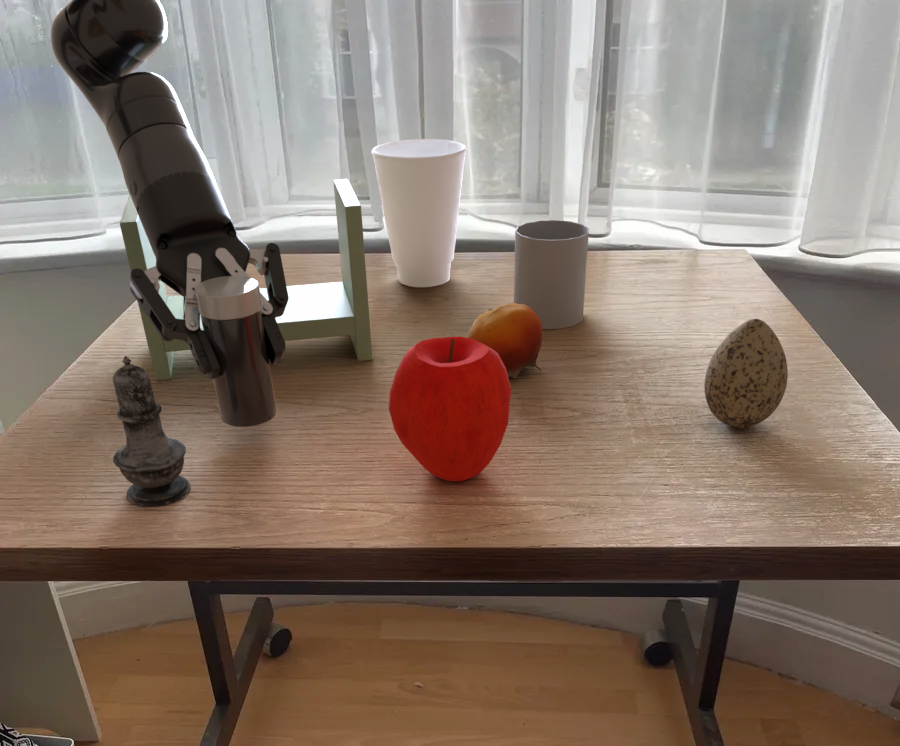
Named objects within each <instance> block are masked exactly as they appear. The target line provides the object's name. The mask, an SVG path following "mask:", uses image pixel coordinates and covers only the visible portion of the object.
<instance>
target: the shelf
mask: <svg viewBox="0 0 900 746" xmlns="http://www.w3.org/2000/svg"><path fill="white" fill-rule="evenodd" d="M332 182H333V191H334V192H333V193H334V202H335V203H334V204H335V213H336V214H335V215H336V224H337V225H336V226H337V236H338V246H339V247H338V248H339V259H340V267H341V268H340V269H341V279H342V280H341V281H333V282H320V283H319V282H318V283H310V284H296V285H286V287H287V292H288V297H289V300H288V302H287V305H286V308H285V310H284V313H283V315H282V316H280V317H276V318H275V319H276V322H277V324H278V327H279V329H280V331H281V334H282V336H283V339H284V341H285V342H288V341H300V340H311V339H320V338H333V337H342V336H343V337H344V336H350V339H351V342H352V345H353V348H354V349H353V350H354V352H355V354H356V359H357V361H358V362H363V361H365V362H366V361H373V360H374V358H373V346H372V332H371V317H370V305H369V294H368V291H369V290H368V279H367V278H368V277H367V267H366V254H365V253H366V252H365V240H364V239H365V238H364V227H363V214H362V213H363V212H362V205H361V203H360V201H359V199H358V197H357V195H356V192H355V191H354V189H353V186H352V185H351V183H350V181H349V179H348V178H340V179H333V181H332ZM119 227H120V232H121V235H122V240H123V244H124V248H125V253H126V257H127V262H128V266H129V270H130V272H131V271H132V270H133V269H136V268H139V269H141V270H143V271H145V270H147V269H150V268H152V267H154V266H156V257H155V255H154V252H153V250H152V248H151V245H150V243H149V240H148V238H147V235H146V233H145V230H144V228H143V225H142V223H141V220H140V218H139V216H138V213H137V211H136V208H135V206H134V203H133V201H132V199H131V196H130V194H129V195H128V198H127V200H126V204H125V206H124V209H123V212H122V215H121V218H120V222H119ZM159 284H160V289H159V295H160V296H161V297H162V299H163V300H164V302H165V303H166V305H167V306H168V308H169V309H170V311H171V312H172V314H173V315H174V317H175V318H176V319H183V296H182V295H180V294H178V295H167V291H166V286H165V285H166V284H165V283H163V282H162V281H161V280H160V281H159ZM259 290H260V293H261V294H262V295H263V296H264V297H265V298H266V300H267V301H268V300H269V298H268V293H267V287H259ZM137 304H138V309H139V313H140V317H141V322H142V326H143V327H142V328H143V331H144V334H145V339H146V344H147V347H148V353H149V357H150V360H151V365H152V370H153V374H154V378H155V381H156V382H158V381H167V380H168V381H169V380H172V377H173V376H172V375H173V366H174V358H175V352H182V351H191V350H190V347H189V345H188V344H187V343H186V342H185V341H183V340H180V339H174V340H172V341H165V340H164V339H163V338H162V337H161V336H160V334H159V333H158V331H157V330H156V328H155V327H154V325H153V324H152V322H151V321H150V319H149V318H148V316H147V315H146V313H145V312H144V310H143V309H142V307H141V306H140V304H139V303H138V302H137ZM200 328H201V330H202V331H203V325H202V320H201V315H200Z"/></svg>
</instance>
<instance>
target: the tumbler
mask: <svg viewBox="0 0 900 746" xmlns="http://www.w3.org/2000/svg"><path fill="white" fill-rule="evenodd" d="M249 277H250V276H249ZM249 277H244V276H224V277H217V278H212V279H209V280H206V281H203V282H201V283H199V284H198V285H197V286H196V287H195V295H196V300H197V305H198V310H199V313H200V315H201V320H202V325H203V330H205V332H206V334H207V336H208V339H209V341H210V343H211V346H212V348H213V351H214V353H215V356H216V358H217V361H218V363H219V366H220V374H219V377H218V378H215V379H212V382H213V387H214V392H215V397H216V401H217V406H218V413H219V417H220V420H221V422H223V423H224V424H225V425H228V426H230V427H237V428H249V427H256V426H261V425H263V424H267V423H268V422H270V421H271V420H273V419H275V417H276V416H277V413H278V411H277V404H276V396H275V389H274V384H273V377H272V371H271V362H270V360H269V357H268V350H267V344H266V337H265V330H264V324H263V317H262V311H261V307H262V303H261V296H260V290H259V289H260V284H259V281H258V280H256V279H255V278H252V277H250V278H249Z"/></svg>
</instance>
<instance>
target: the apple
mask: <svg viewBox="0 0 900 746" xmlns="http://www.w3.org/2000/svg"><path fill="white" fill-rule="evenodd" d="M511 397H512V385H511V383H510V377H508V374H507V370H506V367H505V365H504V364H503V362H502V360H501V358H500V356H499V355H498V353H497V352H495V351H494V350H493V349H491V348H489V347H488V346H486V345H484V344H482V343H480V342H478V341H476V340H474V339H471V338H467V337H466V336H460V335H459V336H458V335H457V336H442V337H441V336H440V337H432V338H428V339H423V340H420V341H419V342H417V343H416V344H415V345H413V346H412V347H410V348H409V349H408V350H407V351H406V353H404V355H403V356H402V359H401V361H400V363H399V364H398V367H397V369H396V371H395V374H394V377H393V380H392V383H391V387H390V389H389V394H388V412H389V415H390V419H391V422H392V426H393V430H394V432H395V434H396V435H397V437H398V439H399V441H400V443H401V444H402V445H403V446H404V447H405V449H406V450H407V451H408V452H409V453H410V454H411V455H412V456H413V458H415V460H416V461H417V462H418V463H419V465H420V466H421V467H423V468H424V470H425V471H427V472H428V473H430V474H431V475H432V476H435V477H437V478H439V479H442V480H445V481H447V482H462V481H463V482H464V481H466V480H470V479H472V478H475V477H476V476H478V475H480V474H481V473H482V472H483V471H484V470H485V469H486V468H487V466H488V465H489V464H490V463H491V461H492V460H493V458H494V457H495V454H497V451H498V450H499V448H500V447H501V445H502V442H503V439H504V436H505V433H506V431H507V429H508V425H509V420H510V418H509V417H510V408H511Z"/></svg>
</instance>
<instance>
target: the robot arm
mask: <svg viewBox="0 0 900 746" xmlns="http://www.w3.org/2000/svg"><path fill="white" fill-rule="evenodd" d="M168 29H169V28H168V21H167V16H166V13H165V10H164V7H163V5H162V4H161V2H160V0H71V1H69V3H68V4H67V5H65V7H64V8H62V10H61V11H59V13H58V14H56V16H55V18H54V19H53V22H52V24H51V29H50V43H51V48H52V51H53V54H54V57H55V59H56V61H57V63H58V64H59V65H60V67H61V68H62V70H63V71H64V72H65V74H66V75H67V76H68V77H69V78H70V79H71V81H72V82H73V83H74V84H75V86H76V87H77V88H78V89H79V91H80V92H81V93H82V95H83V96H84V98H85V99H86V100H87V101H88V103H89V104H90V106H91V107H92V109H93V110H94V111H95V113H96V115H97V116H98V117H99V119H100V121H101V122H102V123H103V125H104V127H105V130H106V132H107V135H108V137H109V139H110V141H111V144H112V146H113V149H114V152H115V153H116V156H117V158H118V162H119V164H120V167H121V171H122V174H123V179H124V182H125V186H126V189H127V191H128V194H129V195H130V196H131V199H132V201H133V203H134V206H135V208H136V211H137V213H138V216H139V218H140V220H141V223H142V225H143V228H144V230H145V233H146V235H147V238H148V240H149V243H150V245H151V248H152V250H153V252H154V255H155V257H156V266H154V267H152V268H150V269H147V270H145V271H143V270H141V269H139V268H136V269H133V270H132V271H131V270H130V277H129V290H130V293H131V294H132V296H133V297H134V298H135V300H136V302H137V304H138V303H139V304H140V306H141V307H142V309H143V310H144V312H145V313H146V315H147V316H148V318H149V319H150V321H151V322H152V324H153V325H154V327H155V328H156V330H157V331H158V333H159V334H160V336H161V337H162V338H163V339H164V340H165V341H172V340H174V339H180V340H183V341H185V342H186V343H187V344H188V345H189V347H190V350H189V351H190V352H191V354H192V357H193V360H194V362H195V364H196V368H197V370H198V371H199V372H200V373H201V374H202V375H207V376H208V378H209V380H213V379H215V378H218V377H219V374H220V366H219V363H218V361H217V358H216V356H215V353H214V351H213V348H212V346H211V343H210V341H209V339H208V336H207V334H206V332H205V330H203V331H202V330H201V328H200V313H199V310H198V305H197V300H196V295H195V287H196V286H197V285H198V284H199V283H201V282H203V281H206V280H209V279H212V278H217V277H224V276H244V277H249V278H251V276H249V274H248V273H247V270H248V265H249V264H251V265H252V266H254V267H255V269H256V271H257V273H259V275H260V276H264V277H263V278H264V281H265V288H267V293H268V298H269V300H268V301H267V300H266V298H265V297H264V296H263V295H262V294H261V293H260V296H261V303H262V307H261V311H262V317H263V324H264V330H265V337H266V344H267V350H268V357H269V363H270V365H276V364H279V363H281V361H282V358H283V354H284V353H285V350H286V341H284V339H283V336H282V334H281V331H280V329H279V327H278V324H277V322H276V319H275V318H276V317H280V316H282V315H283V313H284V310H285V308H286V305H287V302H288V300H289V297H288V292H287V287H286V286H287V282H286V276H285V270H284V266H283V260H282V254H281V251H280V250H281V249H280V247H279V245H278V244H276V243H274V242H269V243H267V245H266V247H265V248H250V247H248V245H247V244H246V243H245V242H243V240H242V239H241V238H240V236H239V235H238V233H237V230H236V227H235V225H234V222H233V220H232V217H231V215H230V213H229V211H228V207H227V206H226V203H225V201H224V198H223V196H222V194H221V191H220V189H219V186H218V184H217V179H216V177H215V176H216V175H215V173H214V172H213V170H212V169H211V166H210V164H209V162H208V160H207V158H206V156H205V154H204V152H203V150H202V149H201V147H200V145H199V143H198V142H197V140H196V138H195V136H194V133H193V131H192V128H191V126H190V123H189V121H188V119H187V116H186V113H185V111H184V109H183V106H182V104H181V102H180V100H179V98H178V95H177V93H176V91H175V89H174V87H173V86H172V84H171V83H170V82H169V81H168V80H166V79H165V78H164V77H163V76H162V75H159V74H157V73H154V72H151V71H137V70H138V69H140V68H141V67H142V66H143V65H144V64H145V63H146V62H147V61H149V60H150V59H151V58H152V57H153V56H154V55H155V54H156V53H158V52H159V51H161V48H162V47H163V46H164V45H165V44H166V42H167V38H168V33H169V30H168ZM160 280H161V281H162V282H163V283H164V285H166V286H167V287H169V288H170V289H172V290H173V291H174V292H175V293H177V294H178V295H182V296H183V319H176V318H175V317H174V315H173V314H172V312H171V311H170V309H169V308H168V306H167V305H166V303H165V302H164V300H163V299H162V297H161V296H160V295H159V289H160V284H159V281H160Z"/></svg>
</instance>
